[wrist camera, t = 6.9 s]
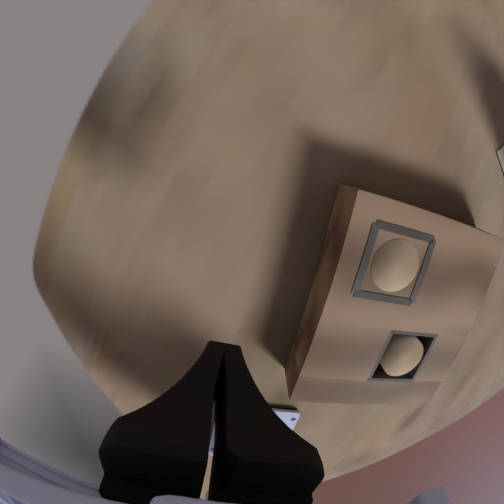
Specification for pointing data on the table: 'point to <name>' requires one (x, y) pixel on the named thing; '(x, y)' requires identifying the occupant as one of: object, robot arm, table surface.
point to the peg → (401, 354)
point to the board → (387, 300)
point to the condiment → (501, 156)
